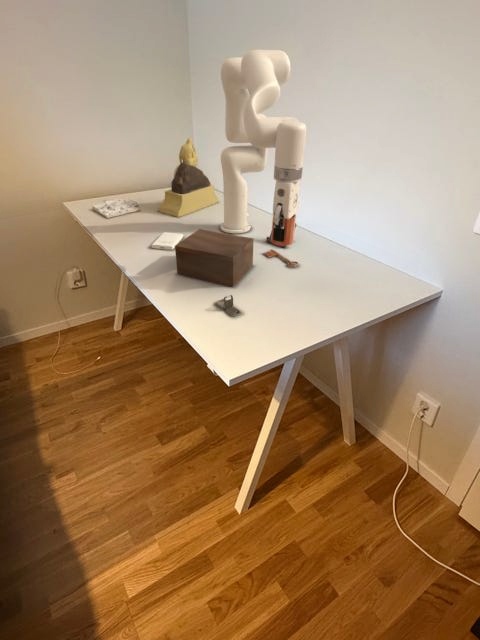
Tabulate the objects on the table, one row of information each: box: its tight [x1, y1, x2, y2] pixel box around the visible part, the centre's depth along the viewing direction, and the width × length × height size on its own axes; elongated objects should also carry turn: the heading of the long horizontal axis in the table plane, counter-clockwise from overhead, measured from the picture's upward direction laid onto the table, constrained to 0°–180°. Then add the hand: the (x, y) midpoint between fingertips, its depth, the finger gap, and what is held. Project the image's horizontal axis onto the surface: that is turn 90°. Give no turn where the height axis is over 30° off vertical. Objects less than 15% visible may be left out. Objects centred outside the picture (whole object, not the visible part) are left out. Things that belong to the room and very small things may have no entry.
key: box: [263, 249, 299, 268], centre depth 135 cm, size 6×1×15 cm
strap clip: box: [215, 294, 241, 317], centre depth 107 cm, size 8×3×4 cm, turn 37°
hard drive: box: [151, 231, 184, 251], centre depth 146 cm, size 2×8×12 cm
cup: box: [271, 213, 297, 247], centre depth 112 cm, size 6×6×8 cm
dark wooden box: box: [174, 228, 255, 288], centre depth 125 cm, size 16×20×10 cm
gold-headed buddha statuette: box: [157, 137, 219, 218], centre depth 175 cm, size 28×13×30 cm, turn 144°
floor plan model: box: [92, 197, 140, 219], centre depth 181 cm, size 19×25×2 cm
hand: (282, 235), depth 113 cm, fingers closed on cup, 6 cm apart
